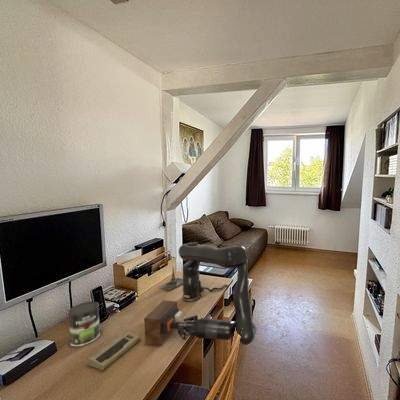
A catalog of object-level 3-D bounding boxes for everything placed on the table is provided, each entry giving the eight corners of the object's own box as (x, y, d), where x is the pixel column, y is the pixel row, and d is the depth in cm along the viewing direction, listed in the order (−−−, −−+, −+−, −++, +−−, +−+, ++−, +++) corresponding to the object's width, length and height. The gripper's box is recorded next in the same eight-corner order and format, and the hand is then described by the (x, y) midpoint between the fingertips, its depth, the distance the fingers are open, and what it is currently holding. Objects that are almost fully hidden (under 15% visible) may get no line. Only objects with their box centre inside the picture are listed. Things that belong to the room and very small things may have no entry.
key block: (145, 344, 94) (144, 318, 92) (164, 323, 107) (163, 300, 106) (164, 346, 92) (163, 320, 91) (181, 325, 106) (180, 301, 105)
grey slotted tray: (103, 371, 80) (103, 363, 80) (87, 365, 83) (87, 357, 82) (139, 341, 95) (139, 334, 95) (125, 337, 98) (125, 330, 97)
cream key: (174, 323, 100) (174, 315, 99) (178, 318, 103) (178, 311, 103) (178, 323, 100) (178, 316, 99) (182, 318, 103) (182, 311, 103)
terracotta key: (165, 331, 95) (164, 323, 94) (169, 325, 98) (169, 317, 98) (169, 331, 94) (169, 323, 94) (173, 326, 98) (173, 318, 98)
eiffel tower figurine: (169, 291, 138) (169, 271, 136) (158, 287, 142) (158, 267, 141) (187, 281, 151) (187, 262, 150) (177, 278, 155) (177, 260, 154)
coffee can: (102, 337, 97) (101, 307, 96) (71, 350, 90) (69, 318, 88) (97, 326, 104) (96, 298, 103) (68, 338, 97) (66, 307, 95)
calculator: (108, 293, 127) (124, 297, 121) (108, 300, 128) (125, 305, 122) (86, 302, 118) (103, 308, 111) (87, 310, 118) (103, 316, 112)
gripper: (214, 311, 100) (179, 307, 102) (203, 330, 87) (162, 326, 89) (215, 326, 101) (179, 323, 103) (203, 348, 88) (163, 344, 90)
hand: (171, 324), depth 96 cm, fingers closed
